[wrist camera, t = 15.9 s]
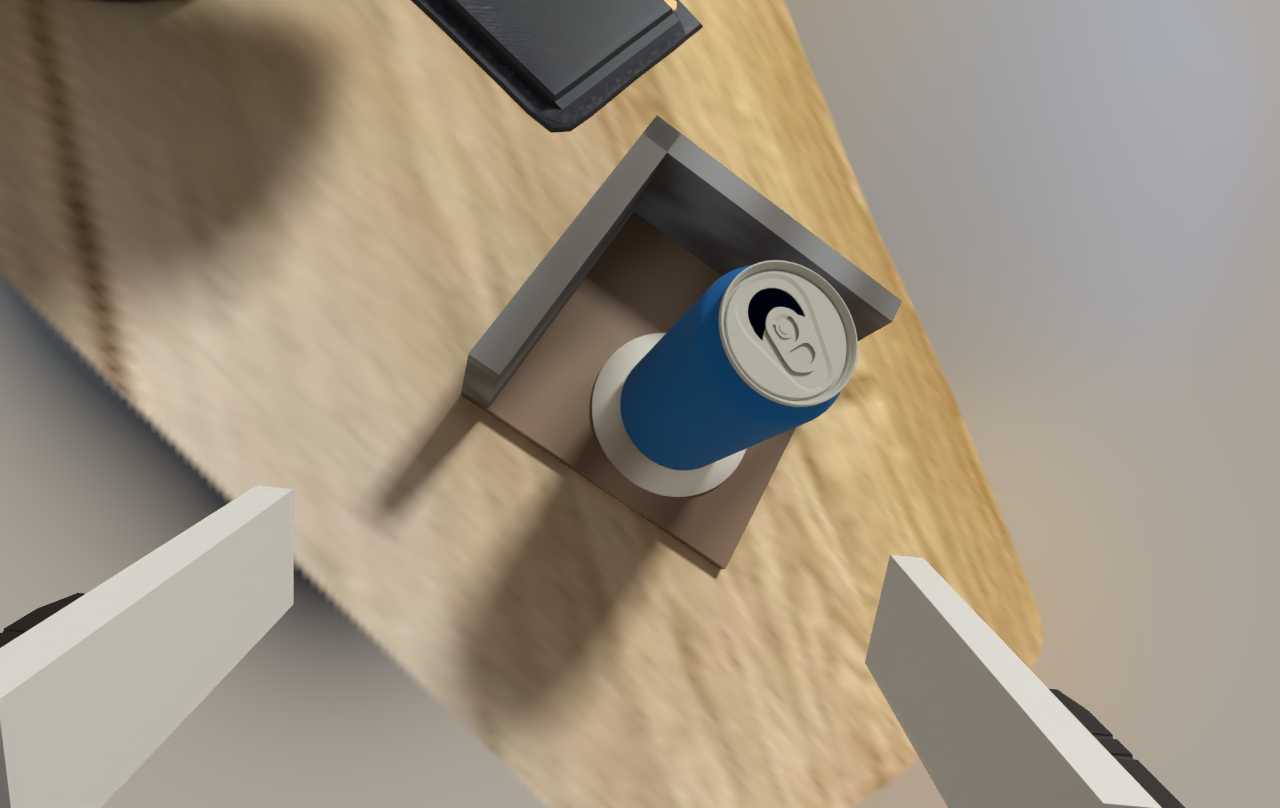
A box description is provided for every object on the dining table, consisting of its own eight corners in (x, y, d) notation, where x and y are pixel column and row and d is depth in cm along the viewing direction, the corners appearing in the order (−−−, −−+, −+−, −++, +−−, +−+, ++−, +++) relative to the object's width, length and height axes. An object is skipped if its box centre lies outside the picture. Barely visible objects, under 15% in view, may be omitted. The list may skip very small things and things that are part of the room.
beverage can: (690, 336, 36) (807, 225, 25) (750, 437, 35) (897, 369, 24) (593, 387, 33) (675, 288, 22) (657, 495, 33) (774, 450, 22)
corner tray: (461, 394, 32) (468, 353, 26) (623, 183, 38) (657, 115, 32) (721, 568, 33) (779, 565, 28) (835, 340, 40) (901, 300, 34)
